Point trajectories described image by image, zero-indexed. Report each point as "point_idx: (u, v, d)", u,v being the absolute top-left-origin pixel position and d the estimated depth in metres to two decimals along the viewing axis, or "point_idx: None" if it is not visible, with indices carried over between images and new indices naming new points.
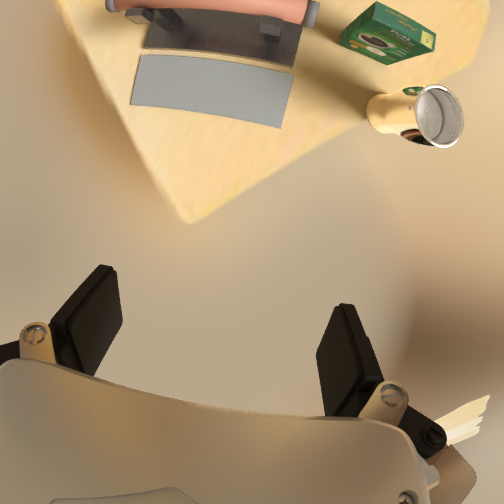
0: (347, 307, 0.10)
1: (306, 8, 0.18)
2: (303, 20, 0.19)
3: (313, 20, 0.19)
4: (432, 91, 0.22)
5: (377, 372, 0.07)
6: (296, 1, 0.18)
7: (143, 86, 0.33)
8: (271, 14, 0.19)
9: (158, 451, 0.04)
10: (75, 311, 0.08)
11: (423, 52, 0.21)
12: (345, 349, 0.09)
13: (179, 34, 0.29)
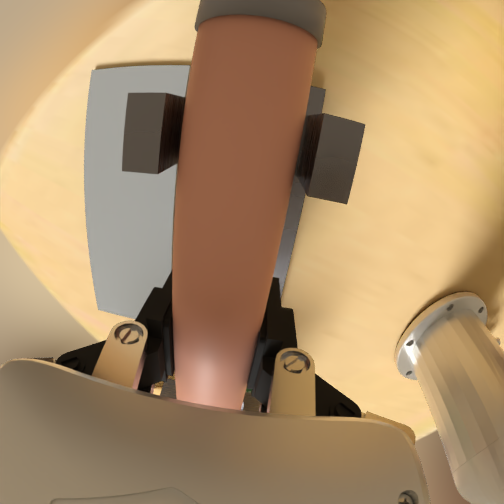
0: None
1: None
2: None
3: None
4: None
5: (280, 337, 0.08)
6: None
7: (121, 87, 0.16)
8: None
9: (158, 451, 0.04)
10: (169, 307, 0.09)
11: None
12: None
13: None
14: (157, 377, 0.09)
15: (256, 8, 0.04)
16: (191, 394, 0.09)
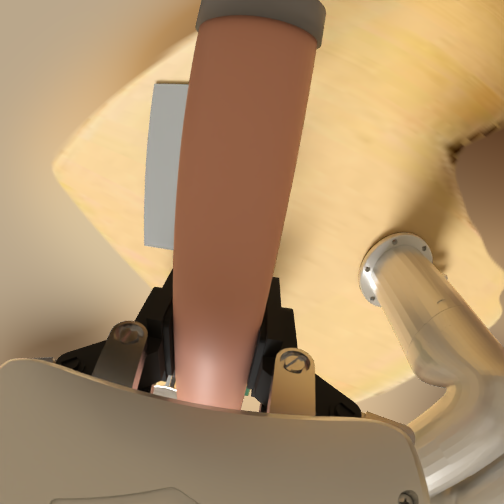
0: None
1: None
2: None
3: None
4: None
5: (280, 337, 0.08)
6: None
7: (175, 96, 0.29)
8: None
9: (158, 451, 0.04)
10: (169, 307, 0.09)
11: None
12: None
13: None
14: (157, 377, 0.09)
15: (258, 9, 0.04)
16: (193, 393, 0.09)
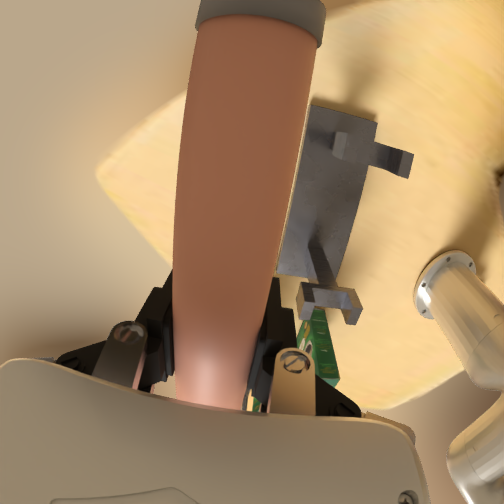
0: None
1: None
2: None
3: None
4: None
5: (280, 337, 0.08)
6: None
7: None
8: None
9: (158, 451, 0.04)
10: (169, 307, 0.09)
11: None
12: None
13: (322, 151, 0.29)
14: (157, 377, 0.09)
15: (258, 8, 0.04)
16: (193, 394, 0.09)
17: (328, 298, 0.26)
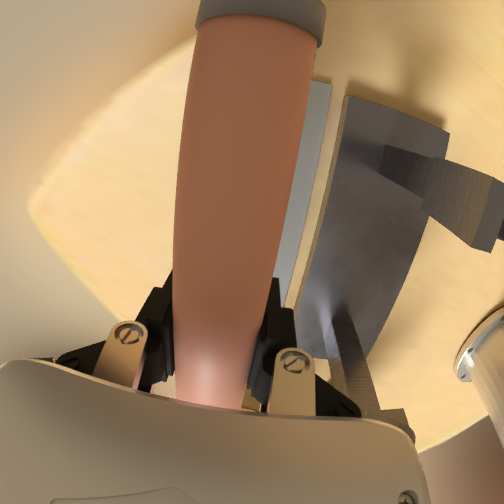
0: None
1: None
2: None
3: None
4: None
5: (280, 337, 0.08)
6: None
7: None
8: None
9: (158, 451, 0.04)
10: (169, 307, 0.09)
11: None
12: None
13: (367, 176, 0.17)
14: (157, 377, 0.09)
15: (258, 7, 0.04)
16: (193, 394, 0.09)
17: None
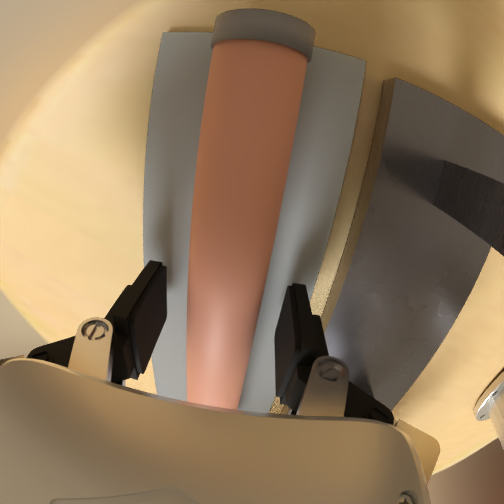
0: (298, 286, 0.11)
1: None
2: None
3: None
4: None
5: (315, 345, 0.08)
6: None
7: None
8: None
9: (158, 451, 0.04)
10: (136, 305, 0.09)
11: None
12: (290, 324, 0.10)
13: (417, 209, 0.10)
14: (125, 374, 0.08)
15: (261, 34, 0.06)
16: (203, 357, 0.11)
17: None
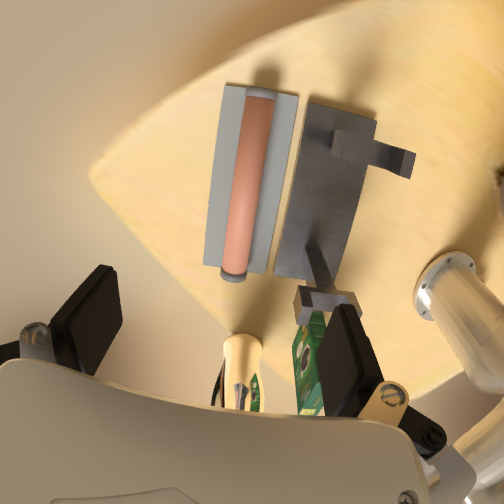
0: (347, 307, 0.10)
1: (232, 273, 0.33)
2: (222, 269, 0.34)
3: (223, 277, 0.34)
4: None
5: (377, 372, 0.07)
6: (238, 266, 0.33)
7: None
8: (225, 245, 0.33)
9: (158, 451, 0.04)
10: (75, 311, 0.08)
11: (297, 403, 0.33)
12: (345, 349, 0.09)
13: (320, 149, 0.29)
14: None
15: (260, 95, 0.24)
16: (238, 205, 0.29)
17: (326, 302, 0.26)
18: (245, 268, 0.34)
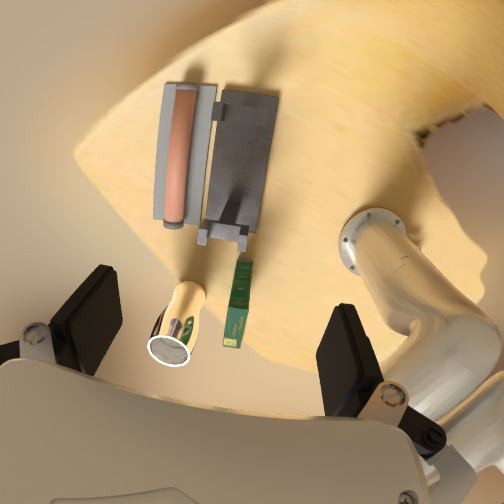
0: (347, 307, 0.10)
1: (170, 221, 0.42)
2: (164, 219, 0.42)
3: (164, 225, 0.42)
4: None
5: (377, 372, 0.07)
6: (174, 215, 0.41)
7: None
8: (165, 200, 0.41)
9: (158, 451, 0.04)
10: (75, 311, 0.08)
11: None
12: (345, 349, 0.09)
13: (233, 123, 0.37)
14: None
15: (183, 88, 0.33)
16: (170, 167, 0.38)
17: (225, 232, 0.34)
18: (180, 218, 0.42)
